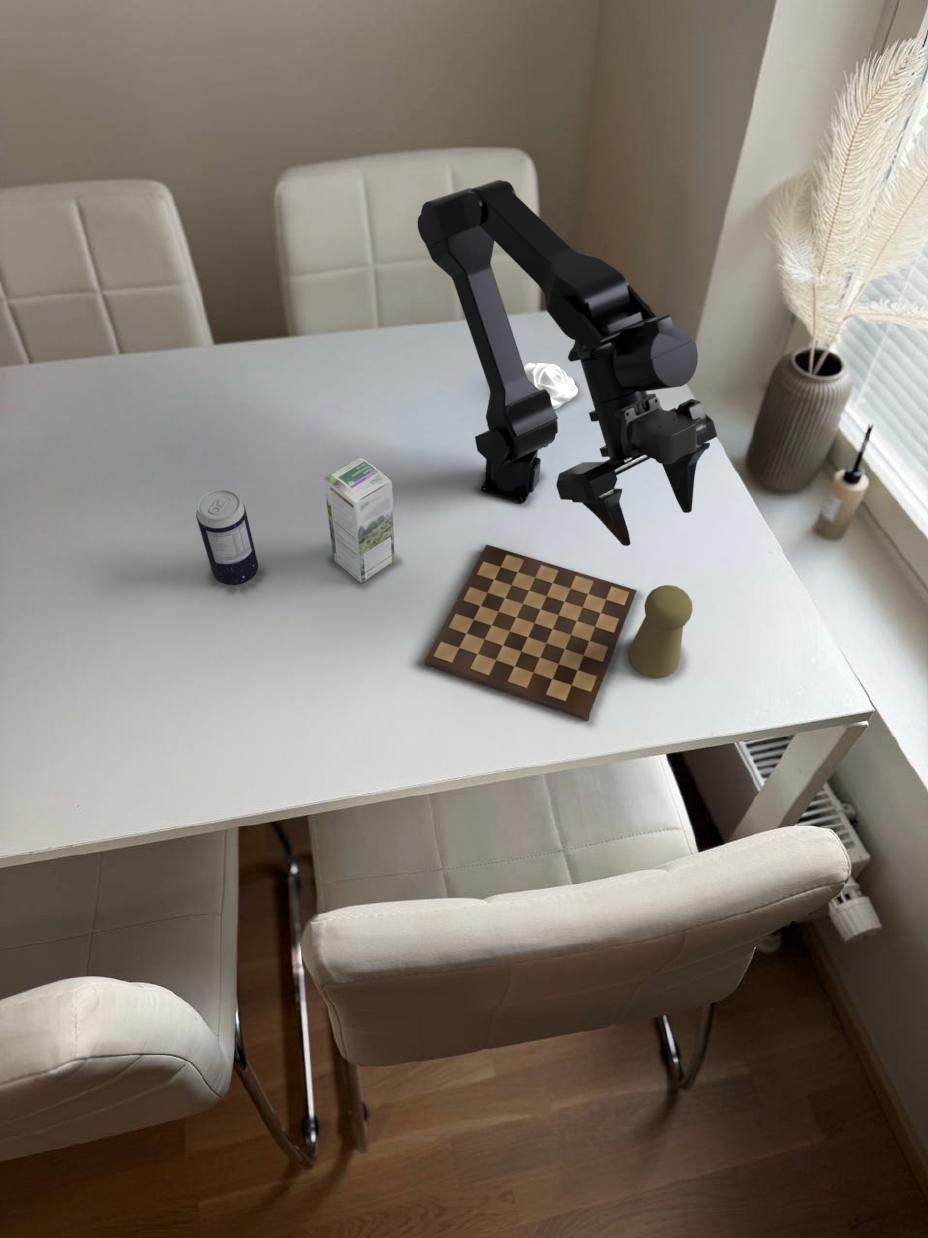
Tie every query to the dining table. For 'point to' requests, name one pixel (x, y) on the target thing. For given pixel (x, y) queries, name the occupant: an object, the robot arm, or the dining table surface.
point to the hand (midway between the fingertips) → (657, 528)
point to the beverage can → (227, 537)
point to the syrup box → (360, 519)
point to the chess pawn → (661, 632)
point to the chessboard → (533, 631)
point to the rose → (551, 382)
